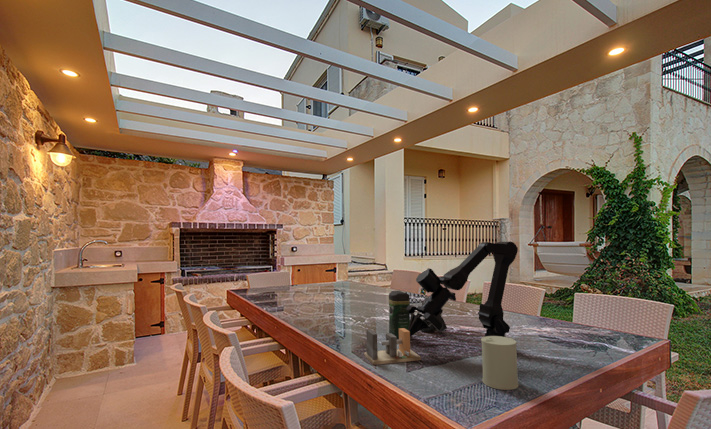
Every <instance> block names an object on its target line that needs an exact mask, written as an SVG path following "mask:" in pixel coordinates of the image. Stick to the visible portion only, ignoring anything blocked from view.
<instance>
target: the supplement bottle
mask: <svg viewBox="0 0 711 429" xmlns="http://www.w3.org/2000/svg"><path fill="white" fill-rule="evenodd" d="M424 302H425V301H424ZM424 302H422V303H421V306H422V305H423V304H424ZM429 327H430V329H428V328H423V329H421V330H420V331H421V332H422V333H423V332H424V333H434V332H436V331H435V330H434V329H433V325H432V324H431V325H430V326H429Z"/></svg>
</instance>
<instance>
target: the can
mask: <svg viewBox="0 0 711 429" xmlns="http://www.w3.org/2000/svg"><path fill="white" fill-rule="evenodd" d="M480 341H481V359H482V360H481V361H482V362H481V363H482V383H483V384H484V385H486V386H487V387H490V388H493V389H496V390H502V391H504V390H505V391H511V390H516V389H518V388H519V386H520V385H519V379H518V377H519V376H518V362H517V360H518V356H517V354H518V353H517V342H518V341H516V340H515V339H513V338H510V337H507V336H506V337H501V336H486V337H485V336H482V337H481V339H480Z"/></svg>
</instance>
